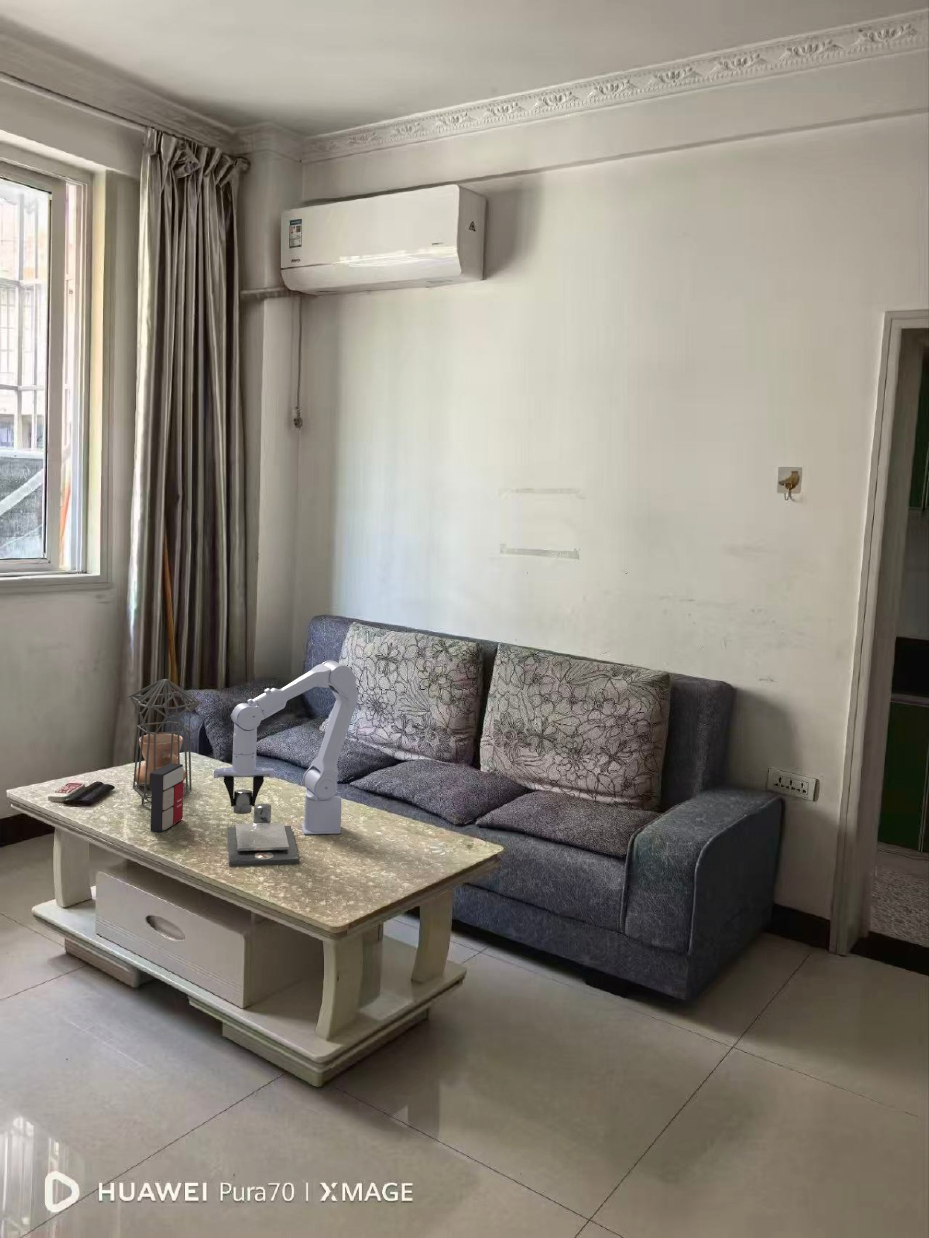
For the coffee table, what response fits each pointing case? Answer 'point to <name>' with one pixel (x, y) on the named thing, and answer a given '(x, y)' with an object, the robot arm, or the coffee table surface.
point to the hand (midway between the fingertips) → (242, 805)
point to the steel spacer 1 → (242, 801)
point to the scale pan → (261, 836)
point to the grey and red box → (166, 796)
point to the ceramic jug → (158, 754)
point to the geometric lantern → (159, 685)
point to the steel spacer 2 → (262, 813)
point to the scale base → (261, 852)
